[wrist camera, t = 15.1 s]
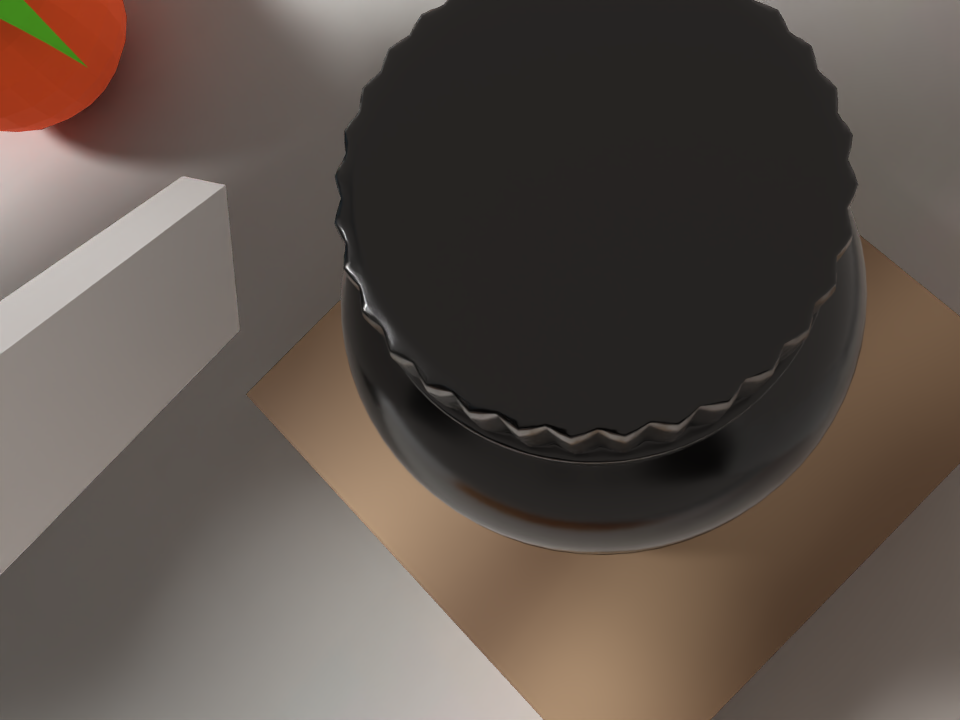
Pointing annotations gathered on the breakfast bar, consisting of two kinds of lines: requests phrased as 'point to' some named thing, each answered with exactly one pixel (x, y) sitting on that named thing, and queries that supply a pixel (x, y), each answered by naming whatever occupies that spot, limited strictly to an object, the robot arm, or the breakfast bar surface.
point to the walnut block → (665, 571)
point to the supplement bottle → (600, 264)
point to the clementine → (56, 58)
